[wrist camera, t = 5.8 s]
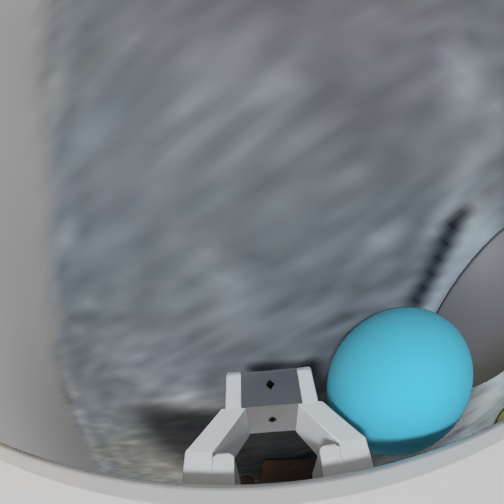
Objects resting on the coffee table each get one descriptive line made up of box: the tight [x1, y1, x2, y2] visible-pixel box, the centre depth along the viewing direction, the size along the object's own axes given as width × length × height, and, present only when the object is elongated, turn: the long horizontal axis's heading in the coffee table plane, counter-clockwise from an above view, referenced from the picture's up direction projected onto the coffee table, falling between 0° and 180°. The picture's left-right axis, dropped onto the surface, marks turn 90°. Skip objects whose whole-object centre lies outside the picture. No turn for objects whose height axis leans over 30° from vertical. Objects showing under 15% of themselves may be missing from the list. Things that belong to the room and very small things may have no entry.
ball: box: [327, 307, 473, 456], centre depth 10 cm, size 6×6×6 cm
